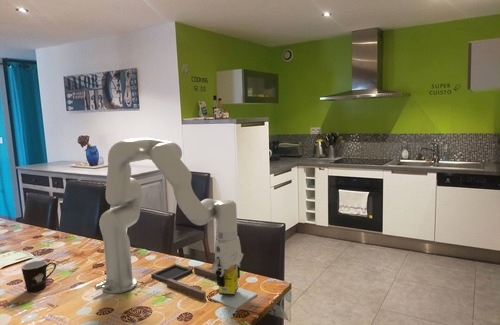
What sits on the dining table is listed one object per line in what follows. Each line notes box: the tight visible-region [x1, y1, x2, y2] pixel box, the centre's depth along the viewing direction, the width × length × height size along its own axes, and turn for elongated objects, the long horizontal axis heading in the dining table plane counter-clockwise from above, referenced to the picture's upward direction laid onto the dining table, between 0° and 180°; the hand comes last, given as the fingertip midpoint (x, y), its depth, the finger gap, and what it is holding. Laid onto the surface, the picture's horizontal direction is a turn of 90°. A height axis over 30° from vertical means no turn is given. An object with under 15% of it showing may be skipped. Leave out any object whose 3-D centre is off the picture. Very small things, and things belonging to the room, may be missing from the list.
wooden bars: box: [166, 265, 217, 301], centre depth 140 cm, size 16×20×2 cm
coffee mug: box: [20, 260, 57, 294], centre depth 142 cm, size 12×9×10 cm
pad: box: [210, 286, 258, 310], centre depth 129 cm, size 12×12×1 cm
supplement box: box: [218, 264, 239, 296], centre depth 130 cm, size 6×6×11 cm
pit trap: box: [151, 263, 193, 284], centre depth 151 cm, size 13×11×1 cm
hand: (228, 281), depth 130 cm, fingers closed on supplement box, 7 cm apart
